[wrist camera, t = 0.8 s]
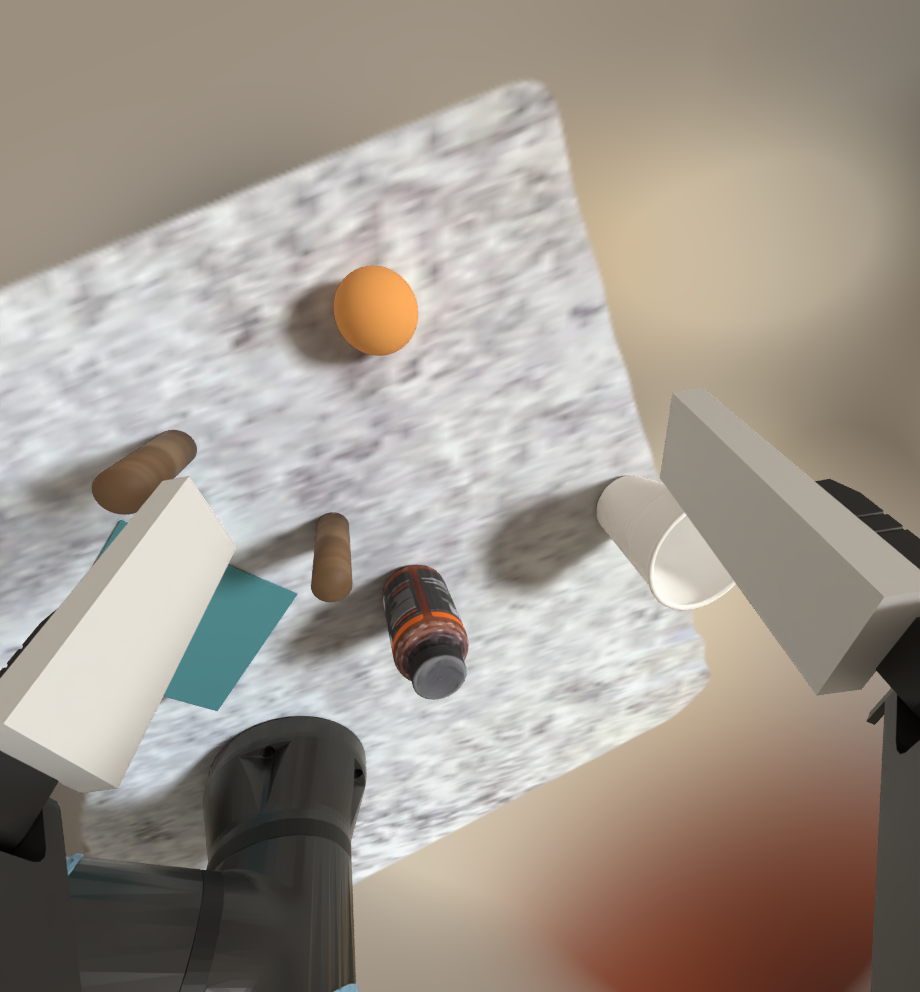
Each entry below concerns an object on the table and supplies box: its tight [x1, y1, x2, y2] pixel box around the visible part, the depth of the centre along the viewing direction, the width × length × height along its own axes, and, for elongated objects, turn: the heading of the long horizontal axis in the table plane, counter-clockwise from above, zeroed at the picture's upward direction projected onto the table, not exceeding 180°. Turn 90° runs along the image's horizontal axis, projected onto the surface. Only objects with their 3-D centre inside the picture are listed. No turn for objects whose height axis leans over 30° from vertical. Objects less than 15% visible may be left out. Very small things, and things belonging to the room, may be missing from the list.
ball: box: [334, 266, 418, 356], centre depth 29 cm, size 6×6×6 cm
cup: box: [597, 475, 736, 610], centre depth 39 cm, size 10×10×11 cm
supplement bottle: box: [383, 565, 468, 699], centre depth 36 cm, size 6×6×11 cm
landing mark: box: [98, 520, 297, 711], centre depth 36 cm, size 14×14×1 cm
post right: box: [311, 513, 352, 602], centre depth 33 cm, size 3×3×9 cm
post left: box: [92, 430, 197, 515], centre depth 27 cm, size 3×3×9 cm
